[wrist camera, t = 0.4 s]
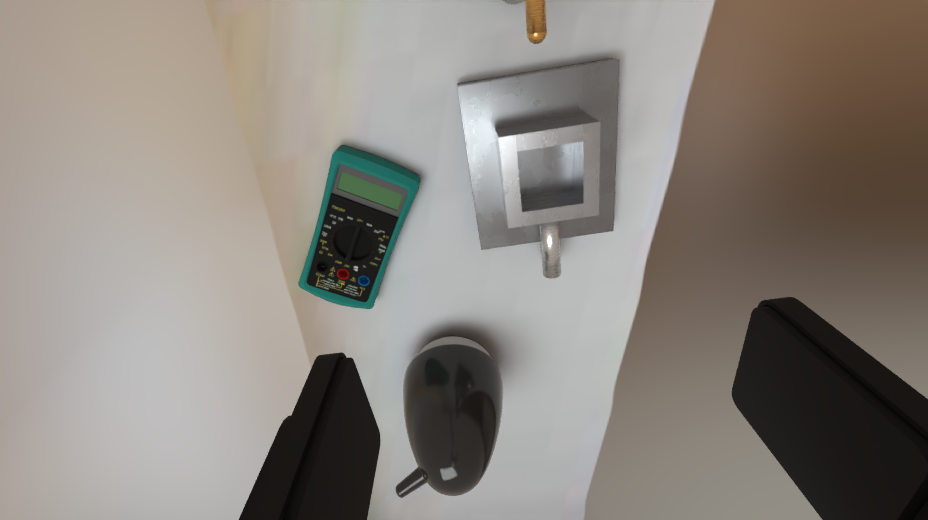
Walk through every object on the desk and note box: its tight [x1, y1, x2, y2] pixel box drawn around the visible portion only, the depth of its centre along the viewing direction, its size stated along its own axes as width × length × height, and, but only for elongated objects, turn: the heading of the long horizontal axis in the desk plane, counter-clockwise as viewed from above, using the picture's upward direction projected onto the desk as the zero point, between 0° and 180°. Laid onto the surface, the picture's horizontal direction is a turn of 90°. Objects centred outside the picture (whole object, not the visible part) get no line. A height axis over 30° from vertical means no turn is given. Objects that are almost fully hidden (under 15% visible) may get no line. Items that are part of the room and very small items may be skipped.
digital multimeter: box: [298, 146, 420, 309], centre depth 37 cm, size 7×15×3 cm, turn 157°
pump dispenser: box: [396, 336, 503, 498], centre depth 39 cm, size 10×10×15 cm
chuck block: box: [457, 58, 619, 278], centre depth 33 cm, size 16×12×5 cm
